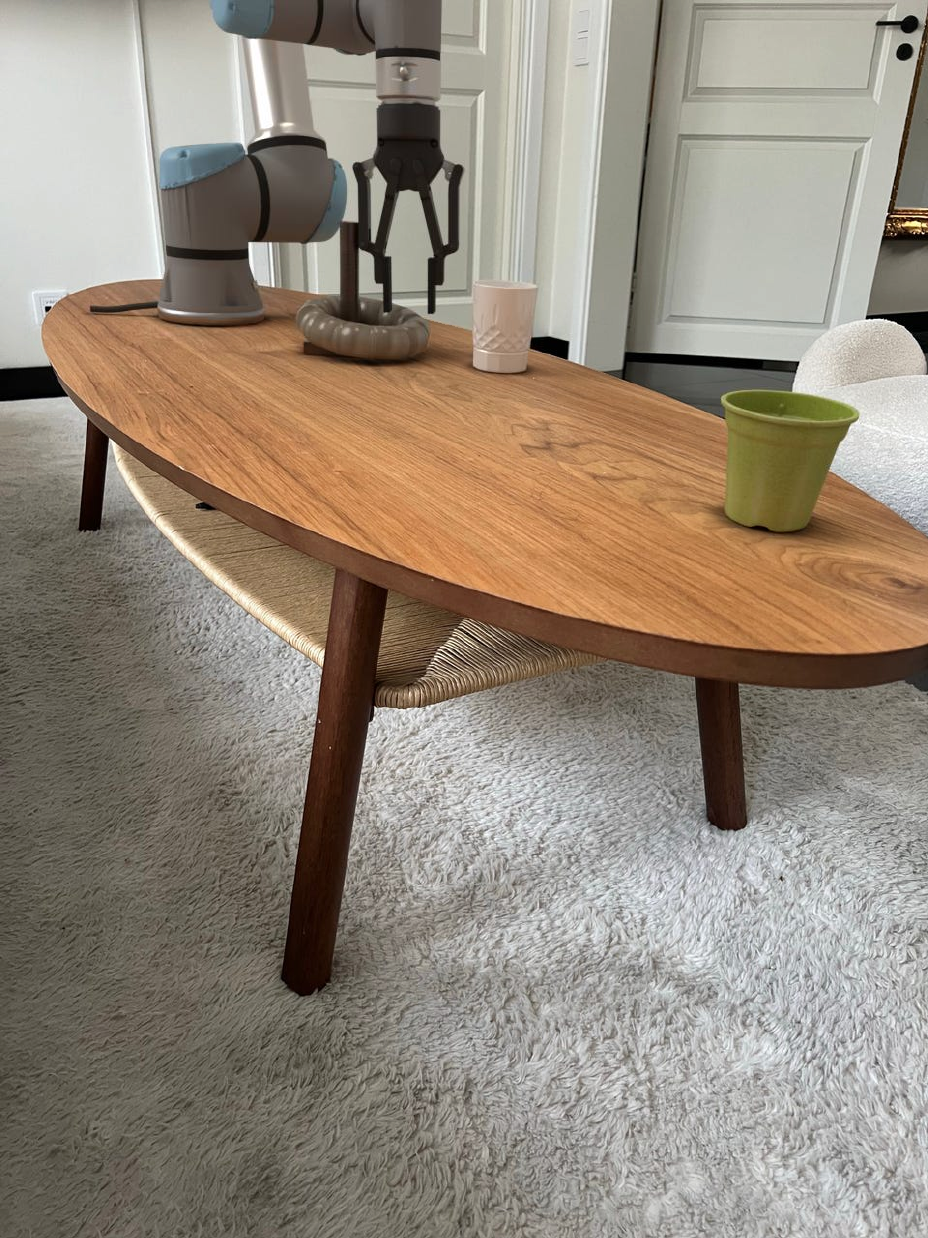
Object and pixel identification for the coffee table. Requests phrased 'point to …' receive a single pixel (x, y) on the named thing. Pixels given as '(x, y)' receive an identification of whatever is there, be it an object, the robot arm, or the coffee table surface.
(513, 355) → the white cup
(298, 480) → the coffee table surface
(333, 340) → the taupe ribbed ring
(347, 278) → the stand
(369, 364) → the coffee table surface
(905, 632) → the coffee table surface
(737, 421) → the plant pot
